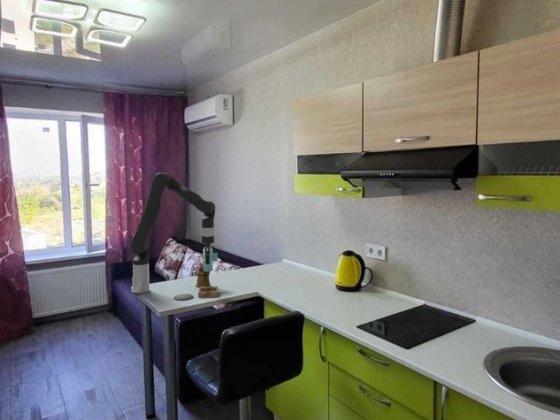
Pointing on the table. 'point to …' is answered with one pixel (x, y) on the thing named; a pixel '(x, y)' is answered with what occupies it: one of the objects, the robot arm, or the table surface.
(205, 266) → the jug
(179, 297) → the disc
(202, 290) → the stand
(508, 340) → the table surface
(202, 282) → the brown figurine
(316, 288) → the table surface
